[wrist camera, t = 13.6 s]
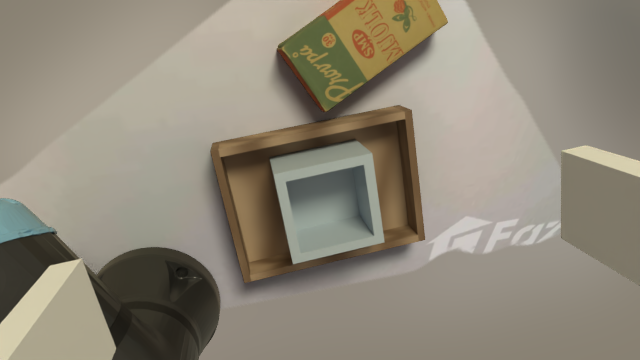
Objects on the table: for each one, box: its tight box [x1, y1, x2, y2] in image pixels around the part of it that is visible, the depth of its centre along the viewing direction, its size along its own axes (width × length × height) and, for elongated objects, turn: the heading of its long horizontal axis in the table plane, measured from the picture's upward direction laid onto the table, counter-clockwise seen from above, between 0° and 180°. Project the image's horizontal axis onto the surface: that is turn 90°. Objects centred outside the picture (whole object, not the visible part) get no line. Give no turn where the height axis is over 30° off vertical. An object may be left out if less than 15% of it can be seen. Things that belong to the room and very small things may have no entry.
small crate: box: [269, 139, 384, 264], centre depth 49 cm, size 10×10×7 cm
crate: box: [211, 105, 425, 283], centre depth 51 cm, size 22×16×4 cm
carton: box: [277, 0, 448, 112], centre depth 47 cm, size 8×16×4 cm, turn 125°
